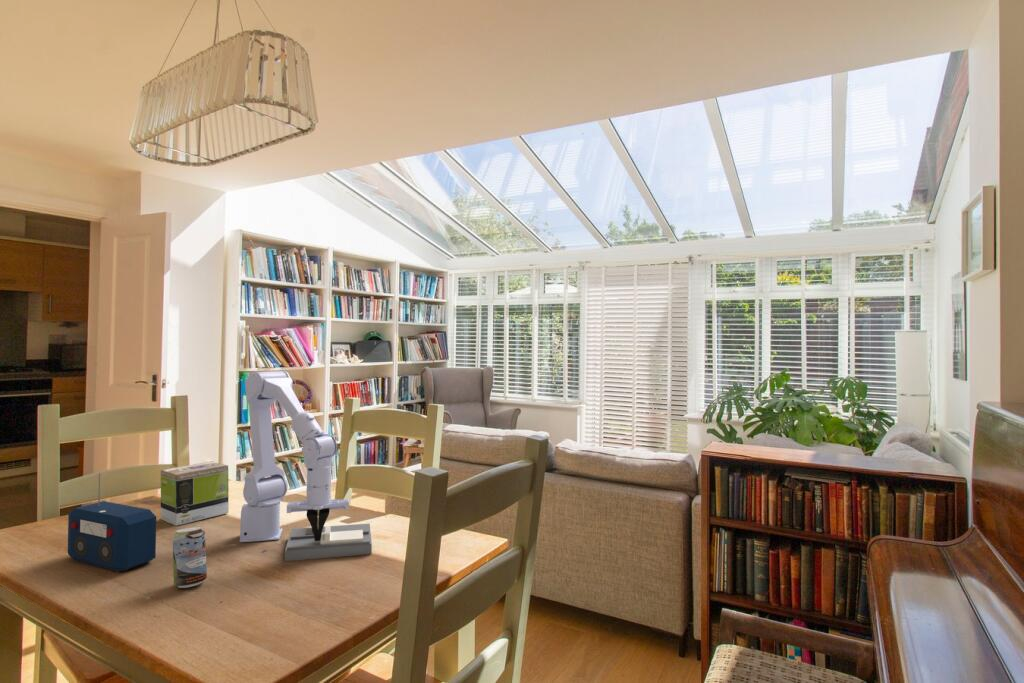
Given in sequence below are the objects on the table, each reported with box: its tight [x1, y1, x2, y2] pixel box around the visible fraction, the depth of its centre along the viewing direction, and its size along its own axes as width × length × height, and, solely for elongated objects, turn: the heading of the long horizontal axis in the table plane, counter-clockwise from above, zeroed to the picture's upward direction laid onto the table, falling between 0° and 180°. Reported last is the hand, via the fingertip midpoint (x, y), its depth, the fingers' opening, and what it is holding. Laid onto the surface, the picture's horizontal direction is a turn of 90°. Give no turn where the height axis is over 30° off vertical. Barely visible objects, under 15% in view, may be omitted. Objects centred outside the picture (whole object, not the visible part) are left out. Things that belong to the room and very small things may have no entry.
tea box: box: [160, 460, 230, 527], centre depth 164 cm, size 15×10×15 cm
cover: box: [320, 525, 363, 545], centre depth 140 cm, size 10×6×3 cm, turn 106°
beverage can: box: [172, 525, 208, 589], centre depth 119 cm, size 6×7×12 cm
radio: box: [67, 473, 157, 573], centre depth 131 cm, size 21×9×20 cm, turn 68°
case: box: [284, 523, 373, 562], centre depth 143 cm, size 20×16×3 cm
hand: (317, 539), depth 138 cm, fingers closed
